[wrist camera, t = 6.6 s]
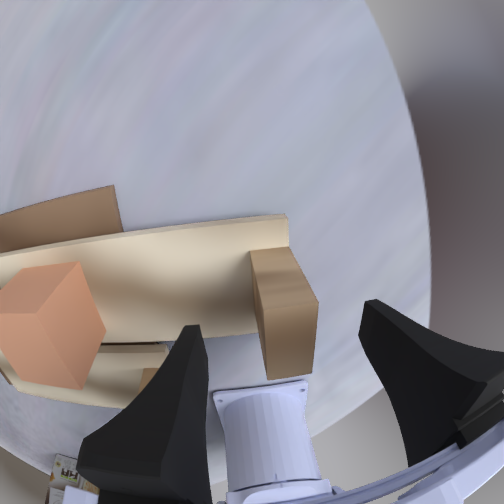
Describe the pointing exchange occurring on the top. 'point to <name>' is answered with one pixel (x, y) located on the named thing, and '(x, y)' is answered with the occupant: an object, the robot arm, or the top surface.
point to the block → (50, 325)
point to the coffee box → (66, 480)
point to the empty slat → (103, 376)
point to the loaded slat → (195, 285)
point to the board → (63, 225)
